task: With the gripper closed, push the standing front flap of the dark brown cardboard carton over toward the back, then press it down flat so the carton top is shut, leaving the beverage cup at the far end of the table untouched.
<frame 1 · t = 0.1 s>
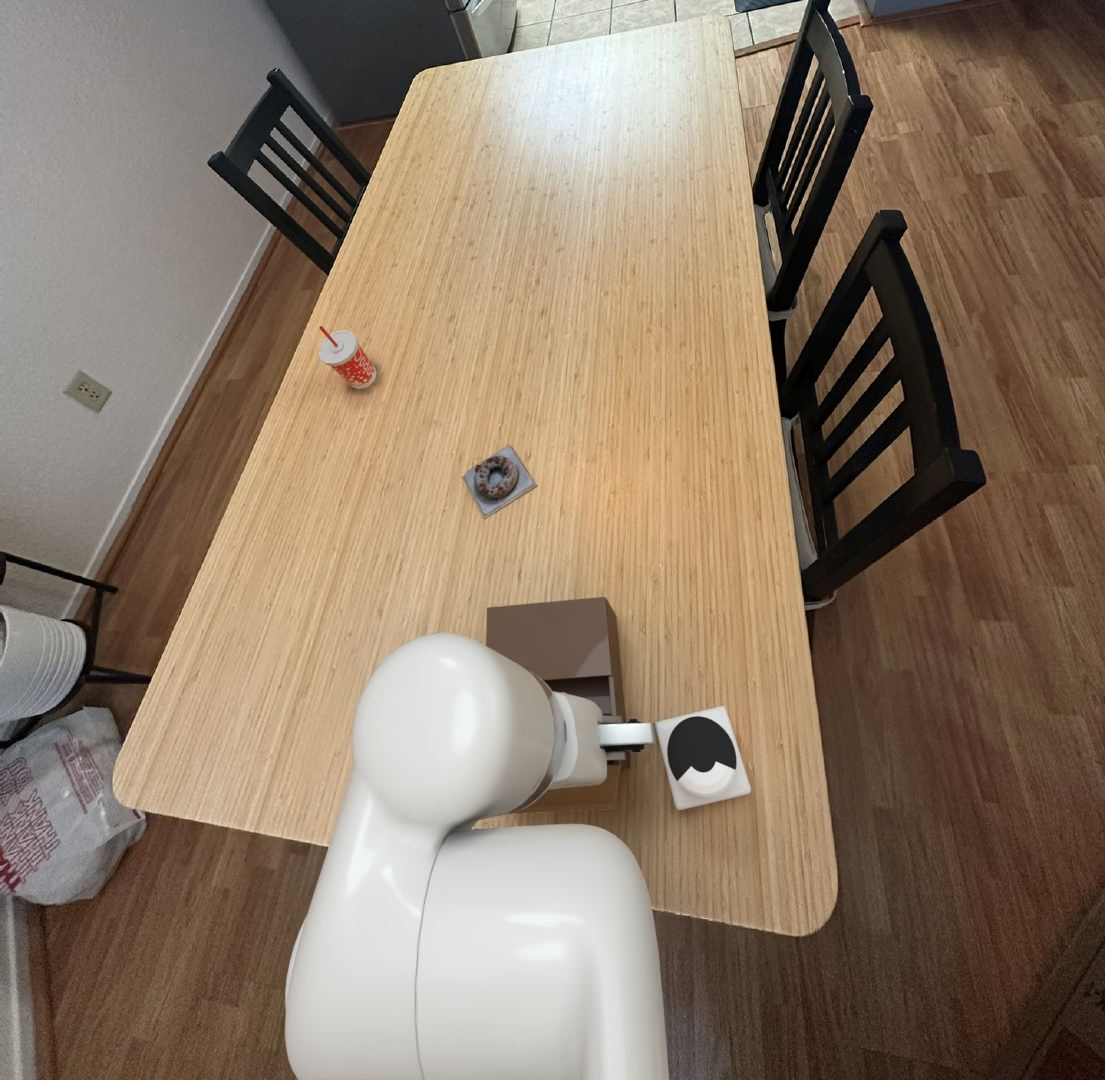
hand: (554, 744, 50), 21 cm above the table, tool pointing down, fingers open, 9 cm apart
carton: (565, 691, 70), on the table
beverage cup: (363, 377, 102), on the table
front flap: (544, 789, 54), point 14 cm above the table, hinge at 110.0°
medicine bottle: (701, 757, 65), on the table
donut: (499, 482, 86), on the table
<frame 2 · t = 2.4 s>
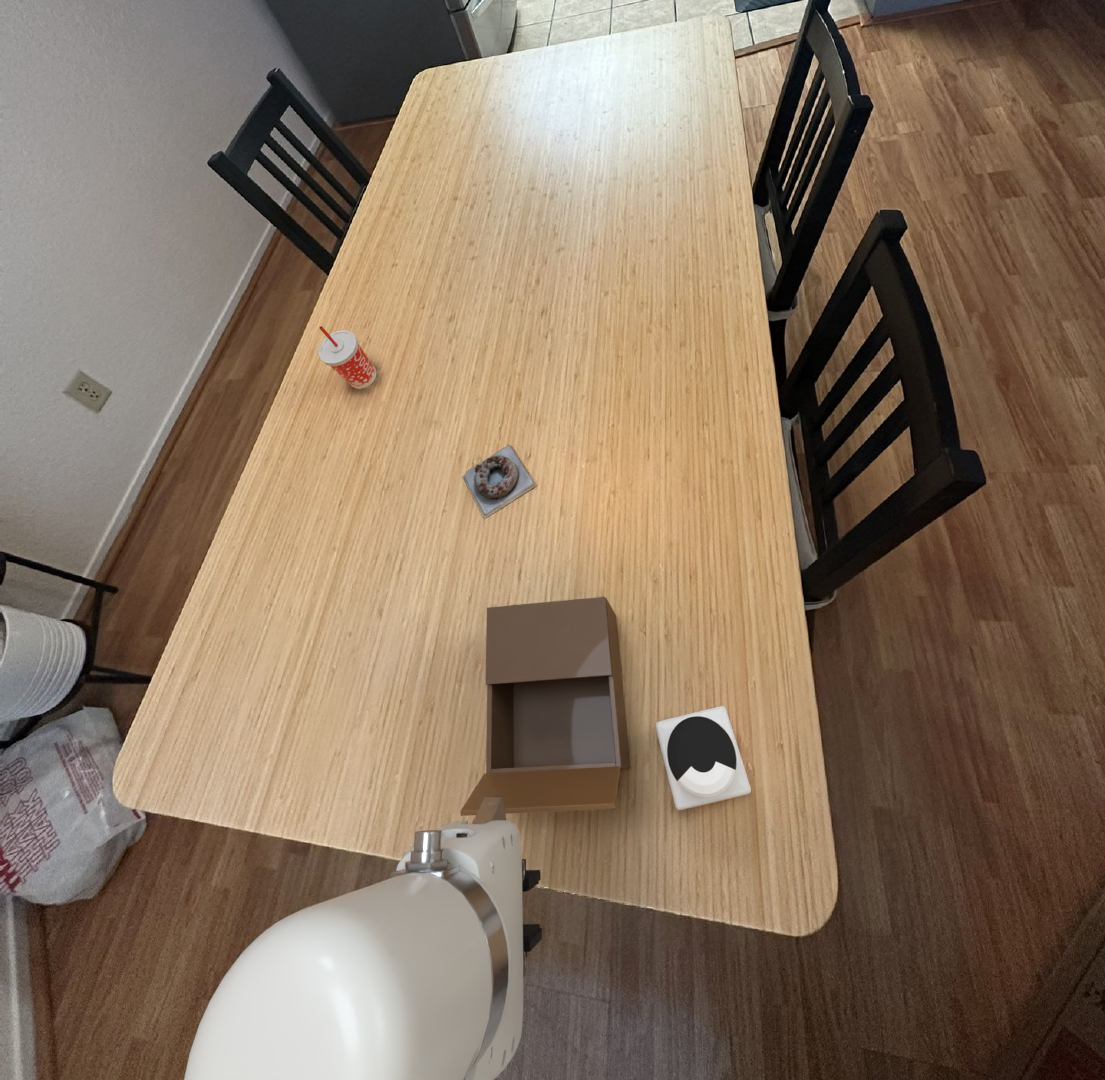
hand: (519, 903, 43), 23 cm above the table, tool pointing down, fingers closed
nothing on the table moved.
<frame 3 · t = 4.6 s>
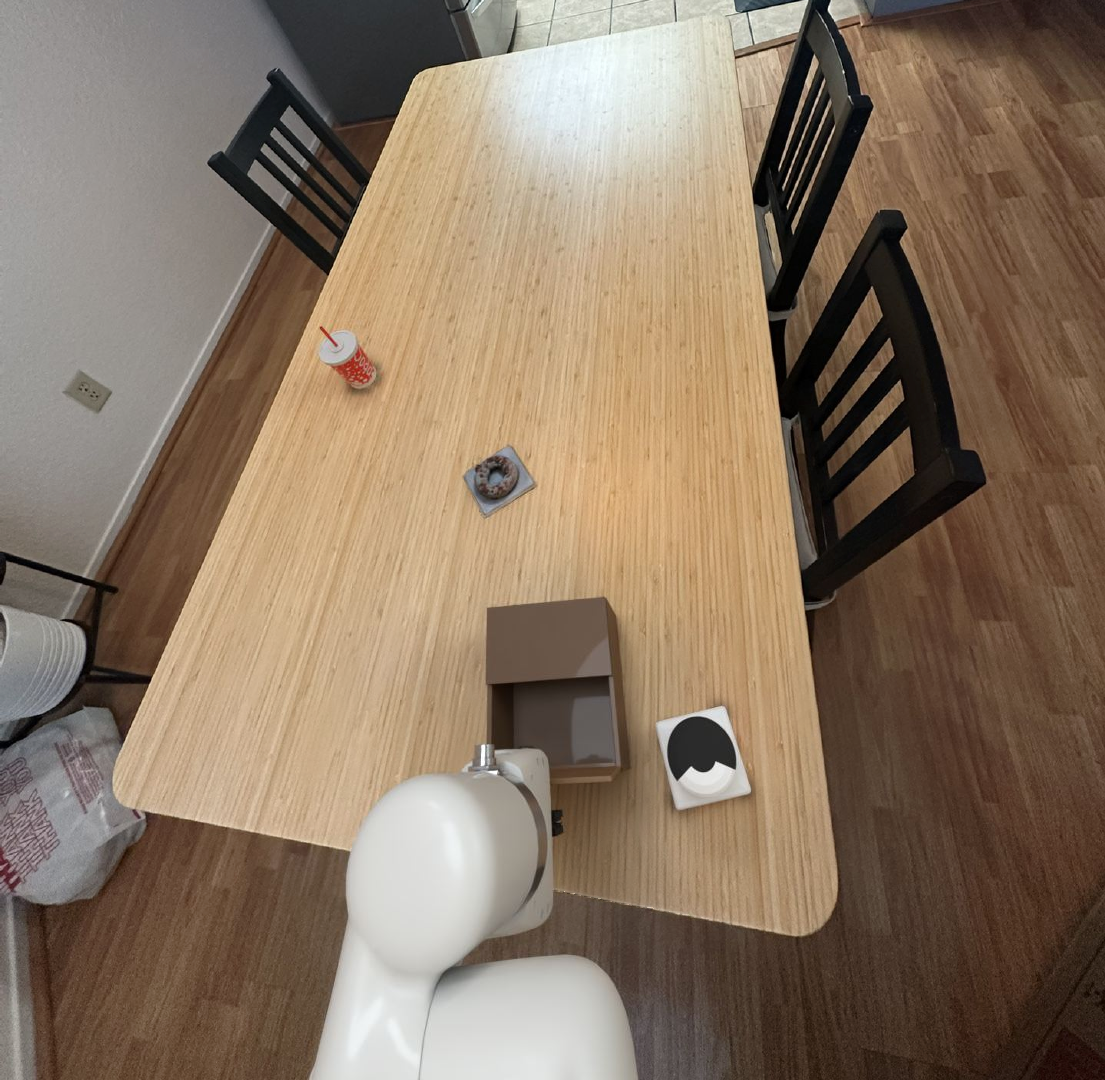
hand: (545, 821, 53), 13 cm above the table, tool pointing down, fingers closed
front flap: (543, 776, 55), point 14 cm above the table, hinge at 95.4°, touching gripper
everything else where it was.
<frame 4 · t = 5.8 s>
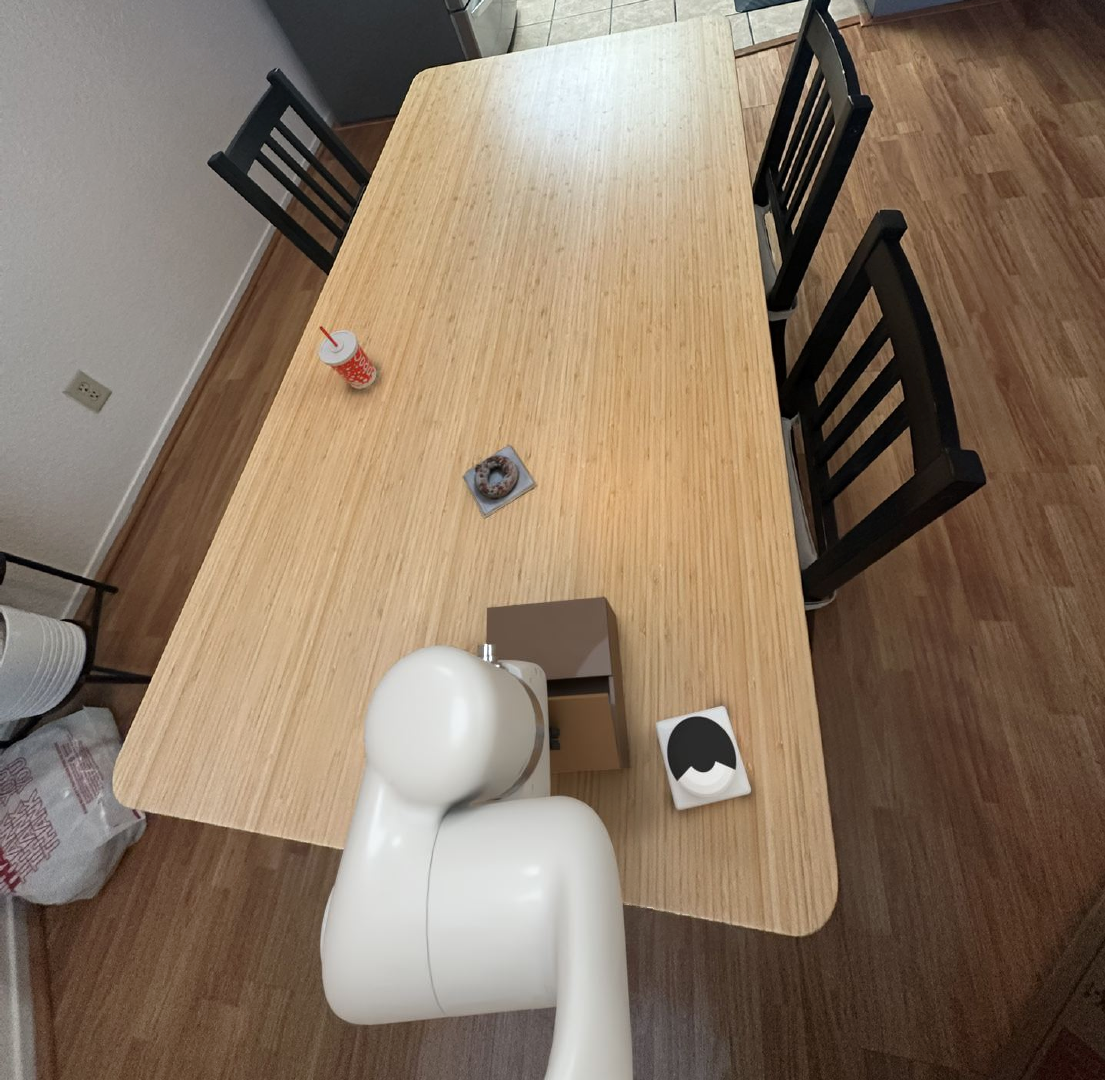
hand: (543, 740, 57), 13 cm above the table, tool pointing down, fingers closed
front flap: (544, 735, 57), point 13 cm above the table, hinge at 41.9°, touching gripper
everything else where it was.
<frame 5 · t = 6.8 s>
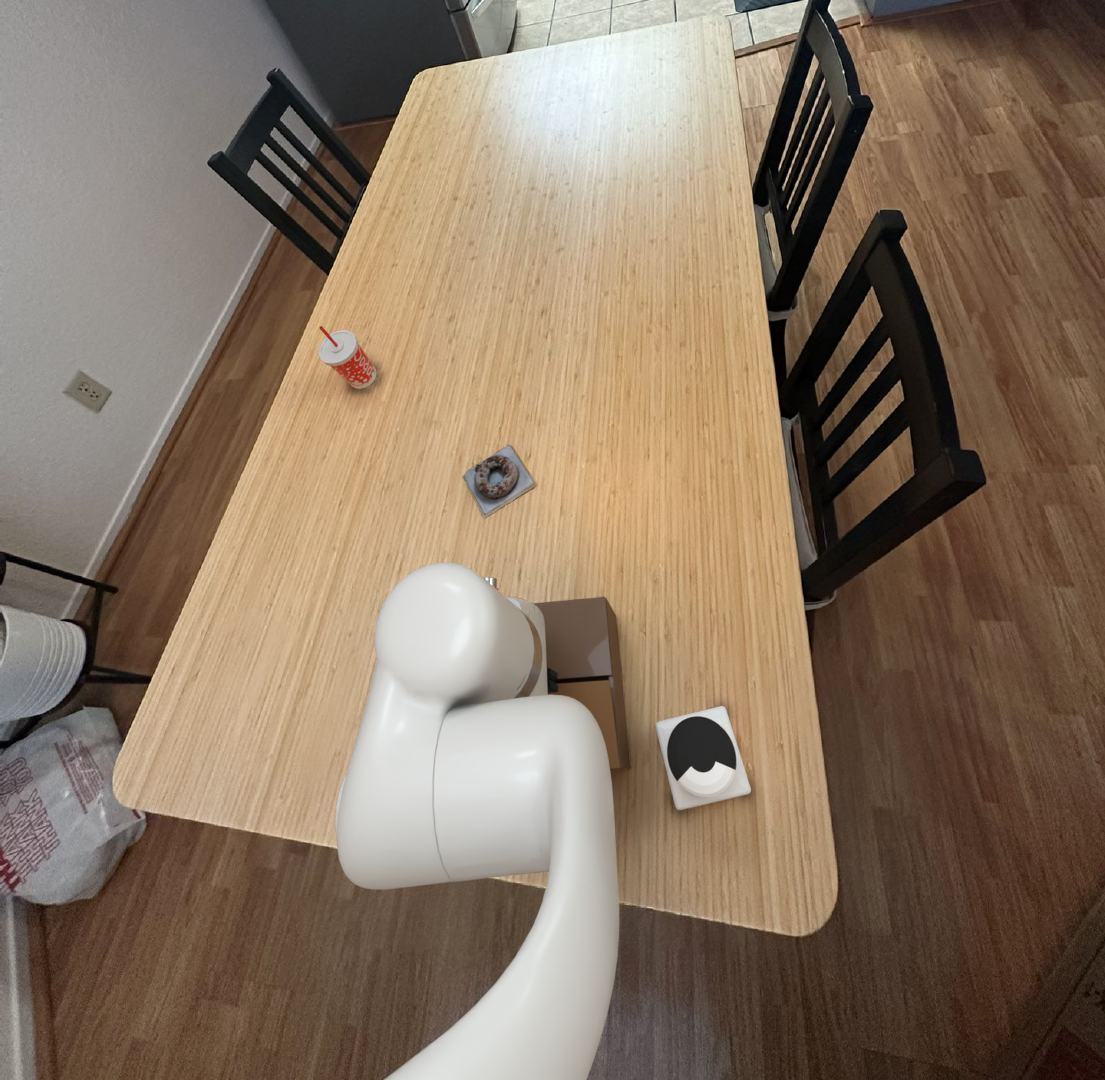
hand: (541, 683, 59), 13 cm above the table, tool pointing down, fingers closed
front flap: (546, 727, 59), point 12 cm above the table, hinge at 23.2°, touching gripper
everything else where it was.
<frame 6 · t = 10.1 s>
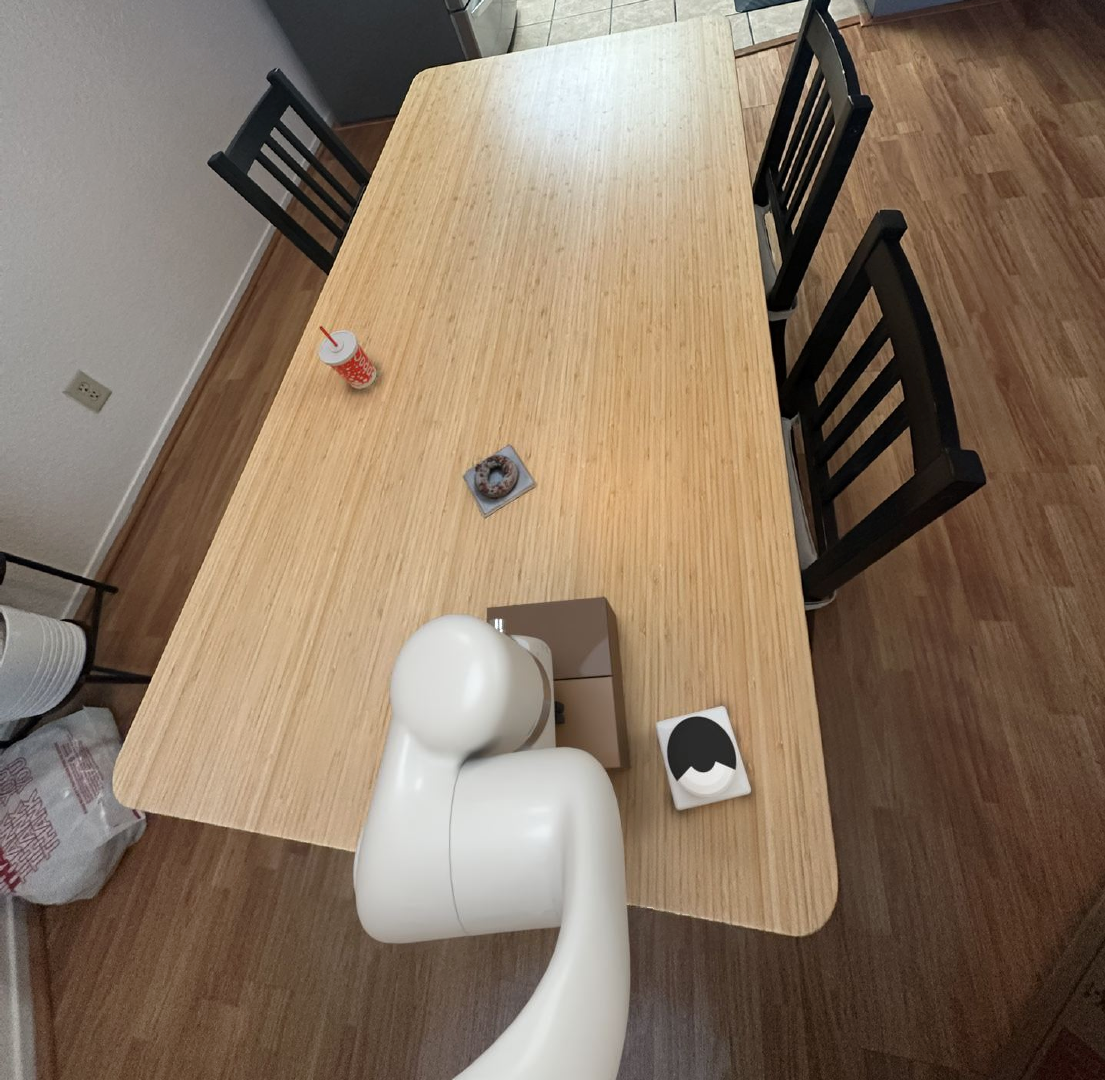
hand: (548, 715, 60), 10 cm above the table, tool pointing down, fingers closed
front flap: (549, 724, 60), point 10 cm above the table, hinge at 1.4°, touching gripper
everything else where it was.
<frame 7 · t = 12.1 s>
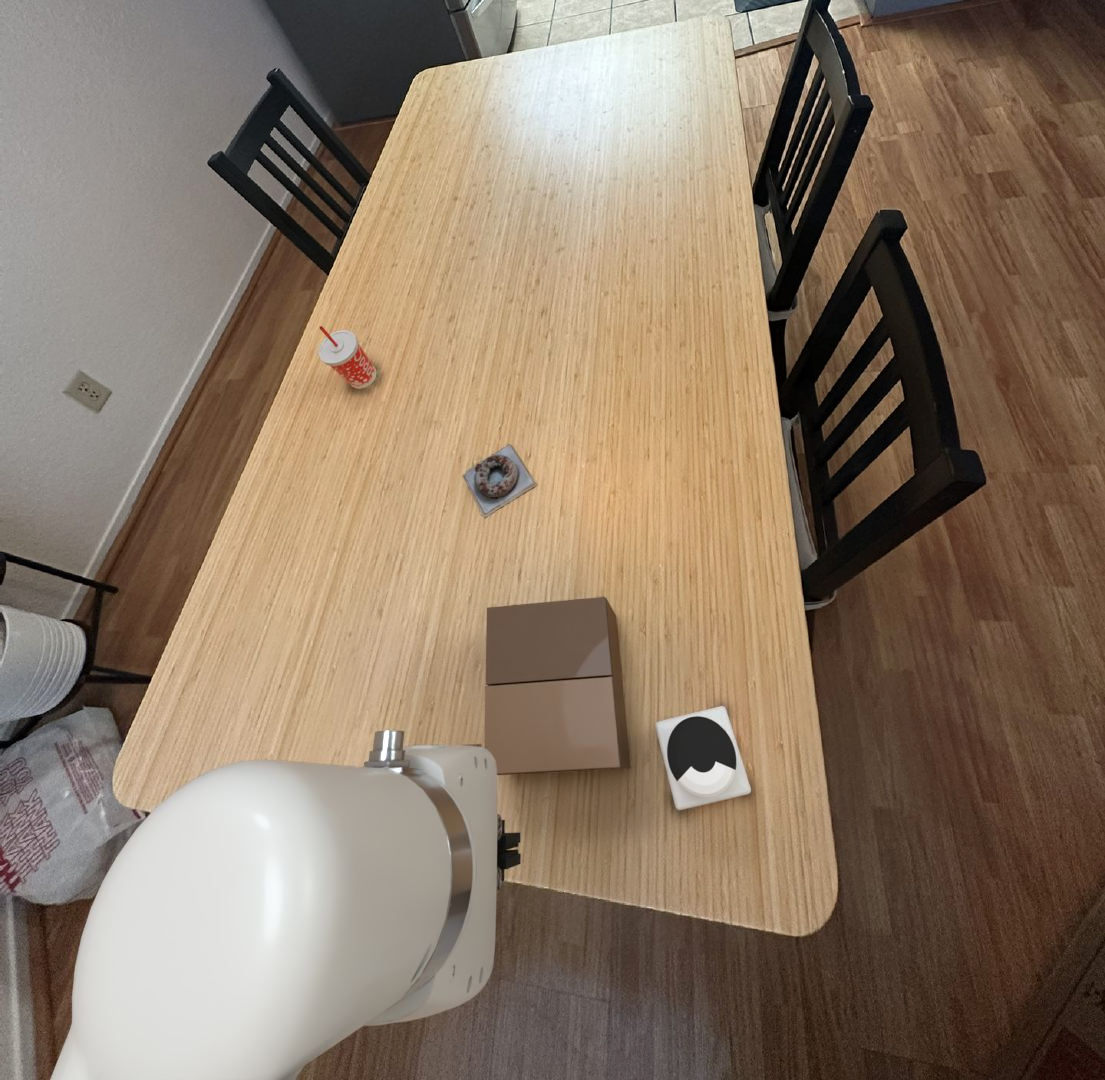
hand: (497, 848, 40), 29 cm above the table, tool pointing down, fingers closed
front flap: (549, 724, 60), point 10 cm above the table, hinge at 1.2°
everything else where it was.
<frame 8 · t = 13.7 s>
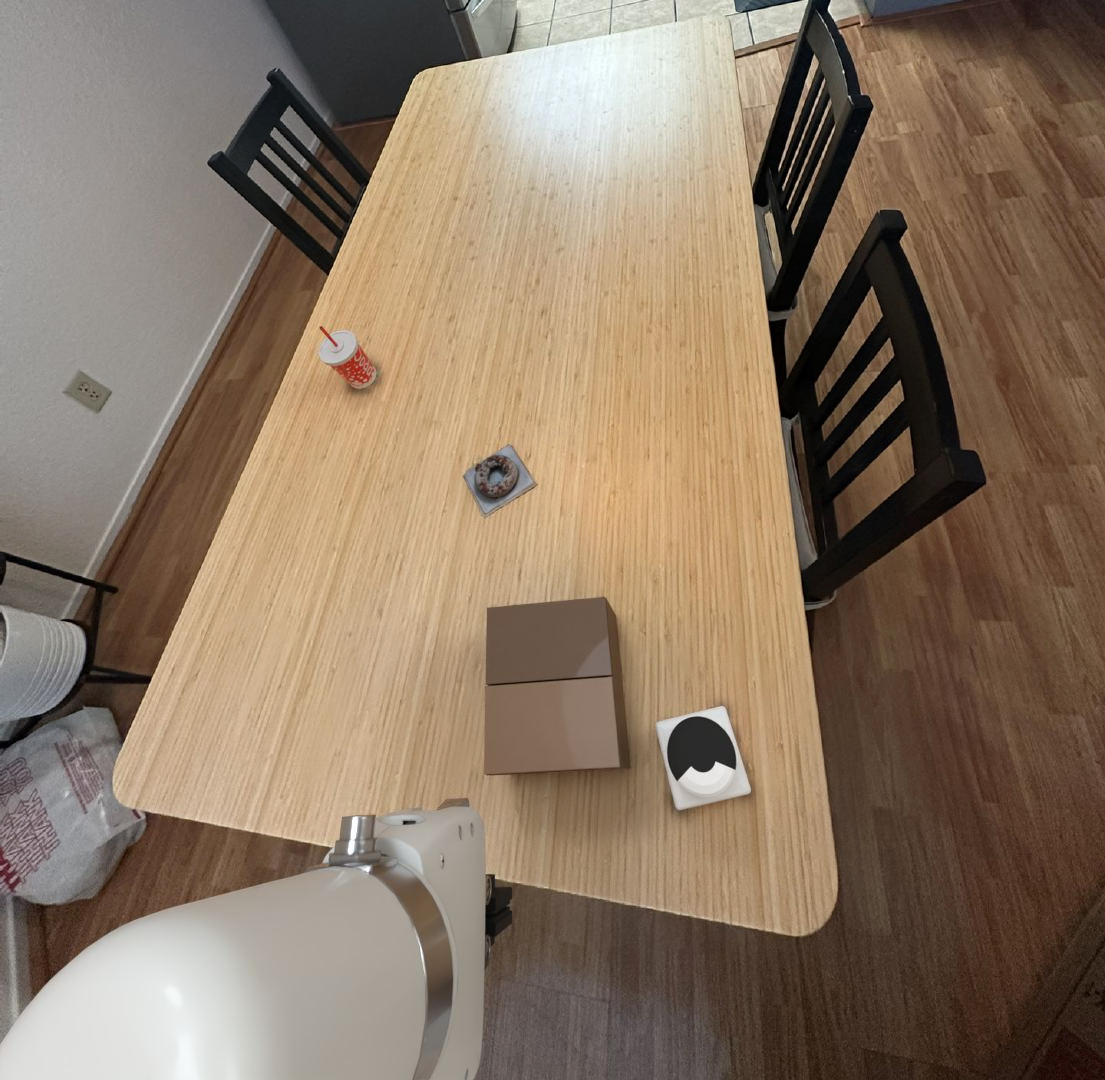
hand: (487, 904, 37), 31 cm above the table, tool pointing down, fingers closed
nothing on the table moved.
at the end: front flap at +1° (first picture: +110°); beverage cup moved 0.2 cm from its start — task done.
